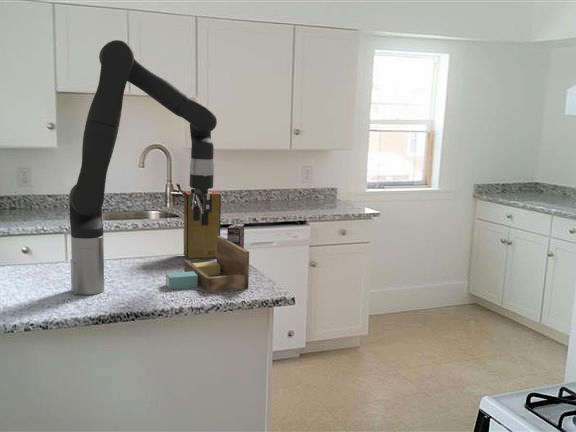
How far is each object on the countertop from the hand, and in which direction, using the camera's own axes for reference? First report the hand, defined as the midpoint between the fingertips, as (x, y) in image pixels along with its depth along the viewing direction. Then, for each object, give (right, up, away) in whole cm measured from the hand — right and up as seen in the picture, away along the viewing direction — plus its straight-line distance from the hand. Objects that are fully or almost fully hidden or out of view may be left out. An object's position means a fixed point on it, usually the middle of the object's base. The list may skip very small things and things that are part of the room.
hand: (200, 223), depth 188 cm
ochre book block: (0, -18, +15) cm, 23 cm away
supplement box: (+9, -17, +22) cm, 29 cm away
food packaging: (-5, -13, +40) cm, 42 cm away
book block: (-6, -20, -1) cm, 21 cm away
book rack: (+4, -19, +7) cm, 21 cm away
